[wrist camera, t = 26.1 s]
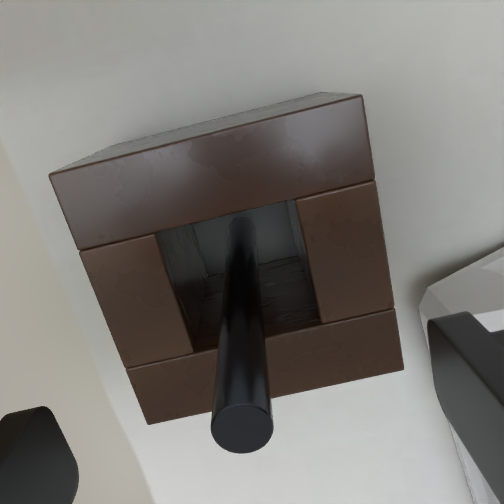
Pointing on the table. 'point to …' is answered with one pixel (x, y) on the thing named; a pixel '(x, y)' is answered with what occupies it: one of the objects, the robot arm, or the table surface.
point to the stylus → (242, 350)
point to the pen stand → (271, 274)
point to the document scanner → (487, 313)
